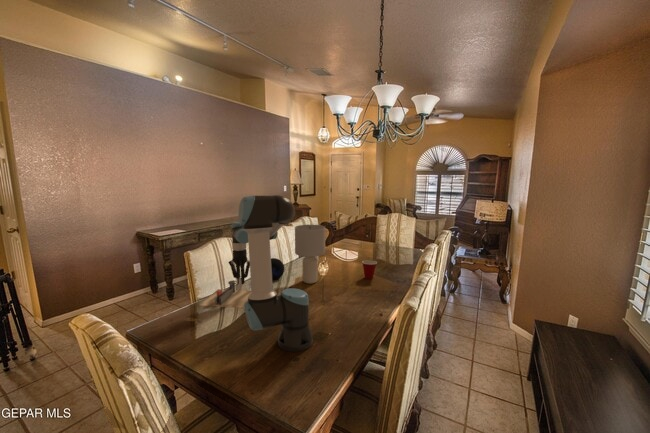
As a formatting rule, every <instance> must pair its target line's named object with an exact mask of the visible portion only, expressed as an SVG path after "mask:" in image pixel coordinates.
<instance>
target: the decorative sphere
mask: <svg viewBox="0 0 650 433" xmlns="http://www.w3.org/2000/svg"><path fill="white" fill-rule="evenodd" d="M271 268H272V281H273V280H274V281H275V280H278V279H281V277H282V276H283V275H284V273H285V265H284V263H283V261H282V260H281V259H279V258H275V257H274V258H273V257H271Z"/></svg>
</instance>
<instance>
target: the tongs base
mask: <svg viewBox="0 0 650 433" xmlns="http://www.w3.org/2000/svg"><path fill="white" fill-rule="evenodd" d="M235 285H236V284H233V293H234V292H235V290H236V288H235V287H236V286H235ZM228 289H230V286H228V287H227V288H225V289H223V290H224V291H223V292H222V294H221V295H220V296H222V295H223V294H224V293H225V292H226V291H227V290H228ZM220 296H216V297H215V305H217V304H218V303H219V297H220Z"/></svg>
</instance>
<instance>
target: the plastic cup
mask: <svg viewBox="0 0 650 433" xmlns="http://www.w3.org/2000/svg"><path fill="white" fill-rule="evenodd" d="M361 263H362V268H363V274H364V278H365V279H366V280H372V279H373V278H374V275H375V271H376V266H377V264H378V262H377V261H376V260H375V261H374V260H362V261H361Z"/></svg>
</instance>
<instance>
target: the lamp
mask: <svg viewBox="0 0 650 433" xmlns="http://www.w3.org/2000/svg"><path fill="white" fill-rule="evenodd" d="M294 253H295V255H297V256H300V257H303V258H302V270H301V271H302V281H303V283H305V284H310V285H311V284H314V283H316V282H317V281H318V266H319V264H318V258H317V257H320V256H324V255H325V254H326V226H325V225H320V224H301V225H296V226H294Z"/></svg>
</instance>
